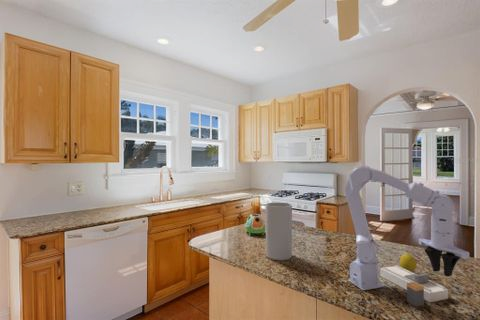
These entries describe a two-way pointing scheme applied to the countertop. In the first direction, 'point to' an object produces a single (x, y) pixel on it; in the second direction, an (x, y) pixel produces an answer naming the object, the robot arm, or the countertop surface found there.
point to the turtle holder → (255, 224)
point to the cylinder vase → (279, 231)
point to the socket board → (397, 276)
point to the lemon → (408, 262)
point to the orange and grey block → (415, 294)
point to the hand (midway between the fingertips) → (442, 273)
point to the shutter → (418, 278)
